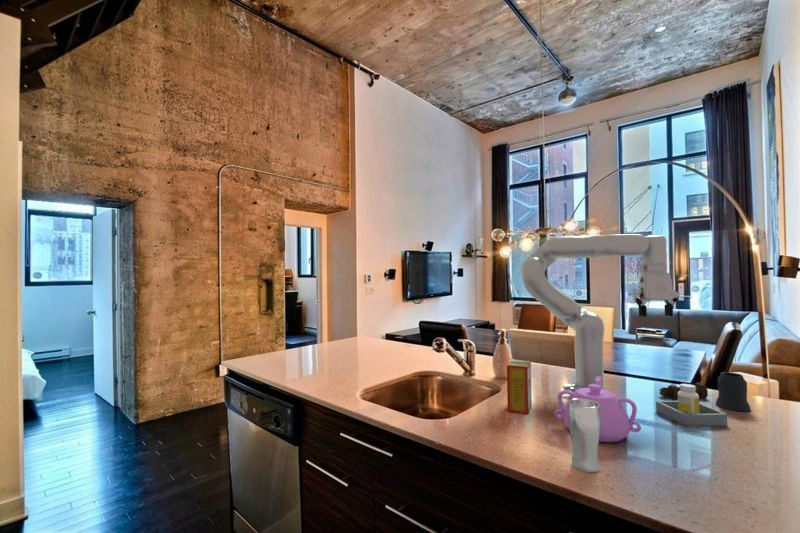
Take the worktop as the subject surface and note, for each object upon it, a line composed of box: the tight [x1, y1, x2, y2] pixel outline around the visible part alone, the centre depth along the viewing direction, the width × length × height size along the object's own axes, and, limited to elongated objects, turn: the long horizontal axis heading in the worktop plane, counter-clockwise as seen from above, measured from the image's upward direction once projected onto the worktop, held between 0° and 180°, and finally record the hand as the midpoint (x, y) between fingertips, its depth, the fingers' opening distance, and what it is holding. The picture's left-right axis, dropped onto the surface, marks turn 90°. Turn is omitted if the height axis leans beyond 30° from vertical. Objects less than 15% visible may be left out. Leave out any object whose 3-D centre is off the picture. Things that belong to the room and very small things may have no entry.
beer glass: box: [568, 399, 601, 474], centre depth 90 cm, size 7×7×15 cm
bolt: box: [658, 382, 709, 399], centre depth 139 cm, size 6×5×15 cm
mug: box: [715, 371, 752, 413], centre depth 130 cm, size 12×9×11 cm
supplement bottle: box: [677, 383, 700, 414], centre depth 119 cm, size 5×5×10 cm
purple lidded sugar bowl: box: [554, 376, 642, 443], centre depth 111 cm, size 22×22×14 cm
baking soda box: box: [506, 359, 533, 416], centre depth 129 cm, size 10×6×16 cm
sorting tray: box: [655, 400, 728, 428], centre depth 119 cm, size 13×13×4 cm
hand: (655, 316), depth 138 cm, fingers open, 9 cm apart
